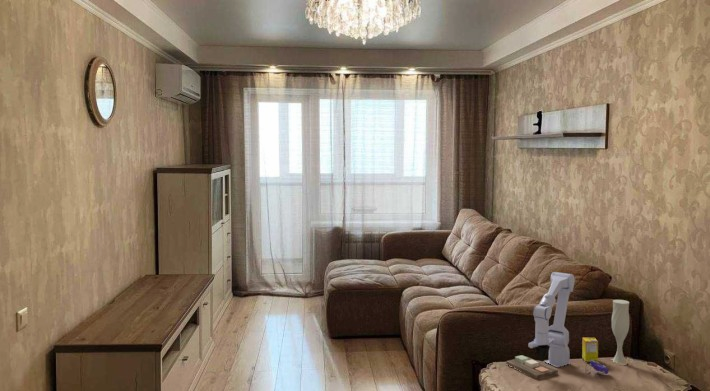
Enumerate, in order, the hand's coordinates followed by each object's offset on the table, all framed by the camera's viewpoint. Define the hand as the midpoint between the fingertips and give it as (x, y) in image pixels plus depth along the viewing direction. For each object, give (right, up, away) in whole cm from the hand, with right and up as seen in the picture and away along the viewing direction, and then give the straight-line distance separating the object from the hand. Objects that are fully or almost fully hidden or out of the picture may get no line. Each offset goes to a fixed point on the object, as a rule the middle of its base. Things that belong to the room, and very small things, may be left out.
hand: (541, 360), depth 261 cm
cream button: (-3, -5, +6) cm, 8 cm away
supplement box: (+29, -5, +16) cm, 34 cm away
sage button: (-6, -4, +12) cm, 14 cm away
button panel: (-3, -6, +6) cm, 9 cm away
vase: (+42, -5, +14) cm, 45 cm away
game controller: (+26, -7, -1) cm, 26 cm away
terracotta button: (0, -6, 0) cm, 6 cm away
